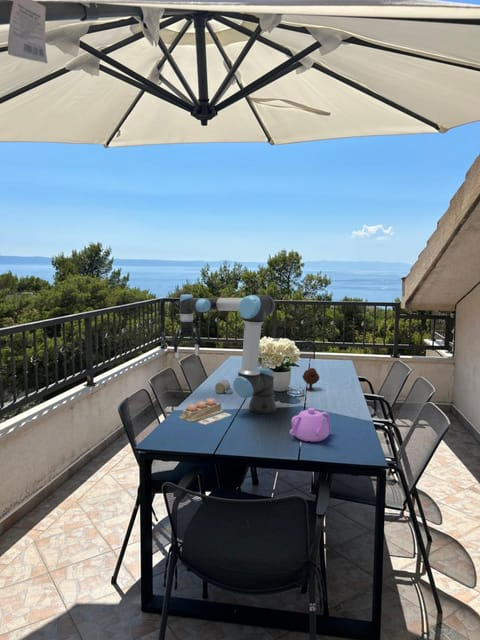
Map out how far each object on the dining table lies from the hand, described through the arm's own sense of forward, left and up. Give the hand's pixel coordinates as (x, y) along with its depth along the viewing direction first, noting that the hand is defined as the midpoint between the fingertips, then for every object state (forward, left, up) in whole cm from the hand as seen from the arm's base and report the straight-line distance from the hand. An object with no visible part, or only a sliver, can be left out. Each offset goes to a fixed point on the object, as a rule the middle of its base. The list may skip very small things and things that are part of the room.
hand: (186, 356), depth 272 cm
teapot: (-90, +5, -26) cm, 94 cm away
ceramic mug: (-5, -27, -27) cm, 38 cm away
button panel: (-27, +15, -26) cm, 40 cm away
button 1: (-27, +22, -23) cm, 41 cm away
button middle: (-27, +15, -23) cm, 38 cm away
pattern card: (-37, +15, -26) cm, 48 cm away
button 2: (-27, +8, -23) cm, 36 cm away
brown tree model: (-43, -69, -26) cm, 86 cm away
